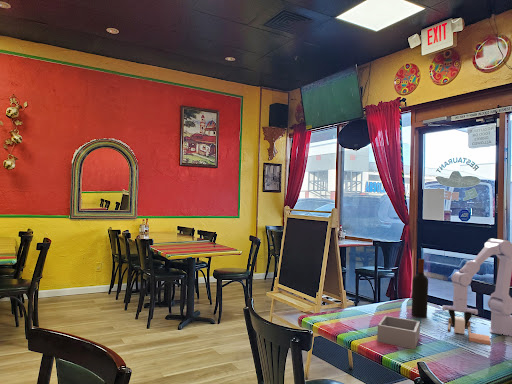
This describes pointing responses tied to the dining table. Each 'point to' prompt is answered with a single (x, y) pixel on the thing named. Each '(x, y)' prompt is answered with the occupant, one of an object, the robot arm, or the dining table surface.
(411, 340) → the box
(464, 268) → the robot arm
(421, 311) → the wine bottle
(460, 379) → the dining table surface
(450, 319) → the frame
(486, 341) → the tile
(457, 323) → the block
